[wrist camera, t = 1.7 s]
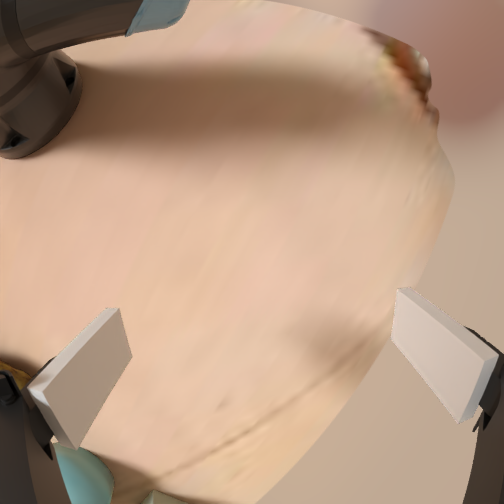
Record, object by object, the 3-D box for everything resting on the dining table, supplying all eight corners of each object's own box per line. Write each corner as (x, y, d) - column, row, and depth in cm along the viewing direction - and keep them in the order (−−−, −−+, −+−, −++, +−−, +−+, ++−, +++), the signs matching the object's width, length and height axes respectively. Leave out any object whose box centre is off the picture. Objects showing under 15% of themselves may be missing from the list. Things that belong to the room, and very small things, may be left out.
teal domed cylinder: (36, 467, 21) (22, 490, 15) (55, 427, 23) (38, 451, 17) (99, 507, 22) (93, 533, 16) (126, 472, 24) (121, 502, 18)
